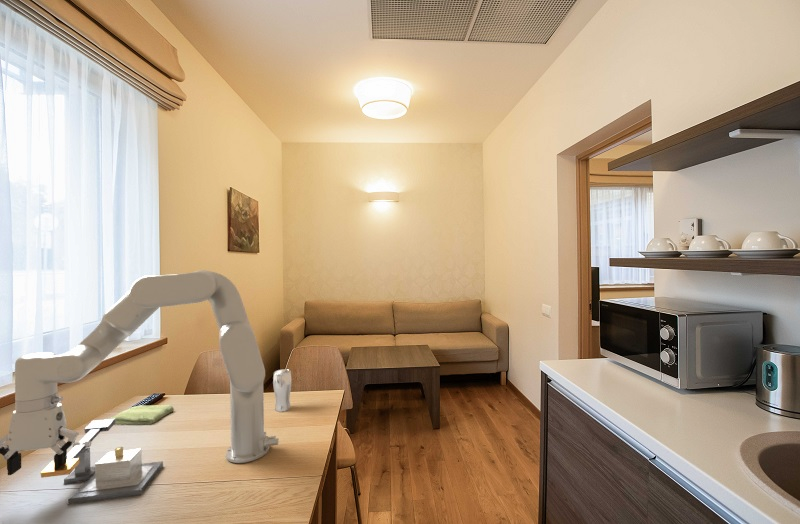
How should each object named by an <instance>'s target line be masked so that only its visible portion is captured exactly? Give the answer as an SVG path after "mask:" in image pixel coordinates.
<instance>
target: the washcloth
mask: <svg viewBox="0 0 800 524" xmlns="http://www.w3.org/2000/svg"><path fill="white" fill-rule="evenodd" d="M170 412H171V413H172V412H174V407H173V405H171V404H163V405H161V404H160V405H158V404H156V405H153V404H151V405H150V404H149V405H146V404H145V405H135V406H132V407H130V408H128V409H125V410H122V411H121V412H119V413H118V414H115V415H114V416H110V417H109V418H108V419H115V422H116V423H115V424H121V426H123V425H124V424H126V426H127V425H128V426H129V425H130V426H132V425H135V426H137V425H138V426H140V425H141V424H142V425H148V424H149V425H152V423H153V424H154V423H156V422H157V421H159V420H162V419H161V418H163V417H165V416H167V415H168V414H171V413H170Z"/></svg>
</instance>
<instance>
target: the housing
mask: <svg viewBox="0 0 800 524" xmlns="http://www.w3.org/2000/svg"><path fill="white" fill-rule="evenodd" d="M142 460H143V457H142V448H141V447H139V448H134V449H133V448H131V449H124V446H119V447H116V448H115V449H114V450H113V451H112V450H111V451H108V452H107V453H106V454H105V455H103V456H102V457H101V458H100V459H99V460H98V461H97V462H95V464H94V467H95V476H96V487H98V486H106V485H114V484H122V483H130V482H131V481H132V480H133V479H134V478H135V477H136V476H137V474H138V473H139V472H140V471H141V470H142V464H143V462H142Z"/></svg>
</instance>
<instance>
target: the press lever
mask: <svg viewBox="0 0 800 524" xmlns="http://www.w3.org/2000/svg"><path fill="white" fill-rule="evenodd" d="M115 423H116V422H115V419H109V418H108V419H107V418H106V419H96V420H95V419H94V420H92V421H91V422H90V423H89V424H88V425H86V427H84V429H83V430H84V434H85V435H84V436H83V437H82V438H81V439H80V440H79V441H77V442H74V443H73V444H72V448H71V449H70V450H69V452H67V462H66V463H65V464H64V465H61V467H60V468H59V469H58V470H54V460H51V462H49V464H48V465H47V466H46V467H45V468H44V469H43V470H42V471H40V477H41V478H49V477H51V478H52V477H58V476H68V475H70V474H71V473H72V472H73V471H74V470H75V467H76V466H77V465H78V464H79V463H80V462H79V458H77V457H78V456H79V455H80V453H81V452H82V451H83V450H84V449H85V448H90V447H91V446H92V442H93V440H95V439H96V437H97V436H98V435H99V434H100V433H102V432H108V431H110V430H111V429H112V427H113V426H114V424H115Z"/></svg>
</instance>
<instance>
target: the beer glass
mask: <svg viewBox="0 0 800 524" xmlns="http://www.w3.org/2000/svg"><path fill="white" fill-rule="evenodd" d="M272 379H273V381H272V384H273V392H274V393H273V394H274V396H275V397H274V398H275V405H274V410H275V412H278V413H280V412H281V413H282V412H283V413H285V412H287V411H289V410H291V401H290V399H291V398H290V397H291V396H290V395H291V390H292V371H291V370H290V369H288V368H287V369H286V368H285V369H282V368H281V369H278V370H275V371H274V372H273V377H272Z"/></svg>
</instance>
